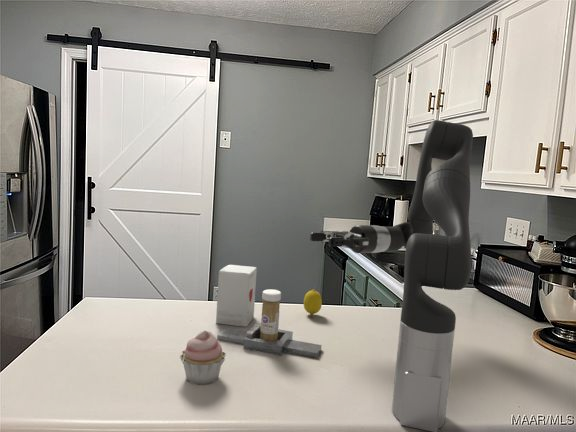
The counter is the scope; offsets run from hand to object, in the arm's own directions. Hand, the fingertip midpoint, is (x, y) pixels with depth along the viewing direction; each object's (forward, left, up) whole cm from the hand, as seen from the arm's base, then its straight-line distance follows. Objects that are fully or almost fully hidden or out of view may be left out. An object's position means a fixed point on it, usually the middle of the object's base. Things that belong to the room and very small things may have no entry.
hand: (320, 239), depth 105 cm
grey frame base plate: (-8, +9, -26) cm, 29 cm away
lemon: (+18, +4, -26) cm, 32 cm away
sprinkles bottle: (-8, +9, -26) cm, 29 cm away
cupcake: (-29, +16, -26) cm, 43 cm away
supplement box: (+4, +23, -26) cm, 35 cm away
